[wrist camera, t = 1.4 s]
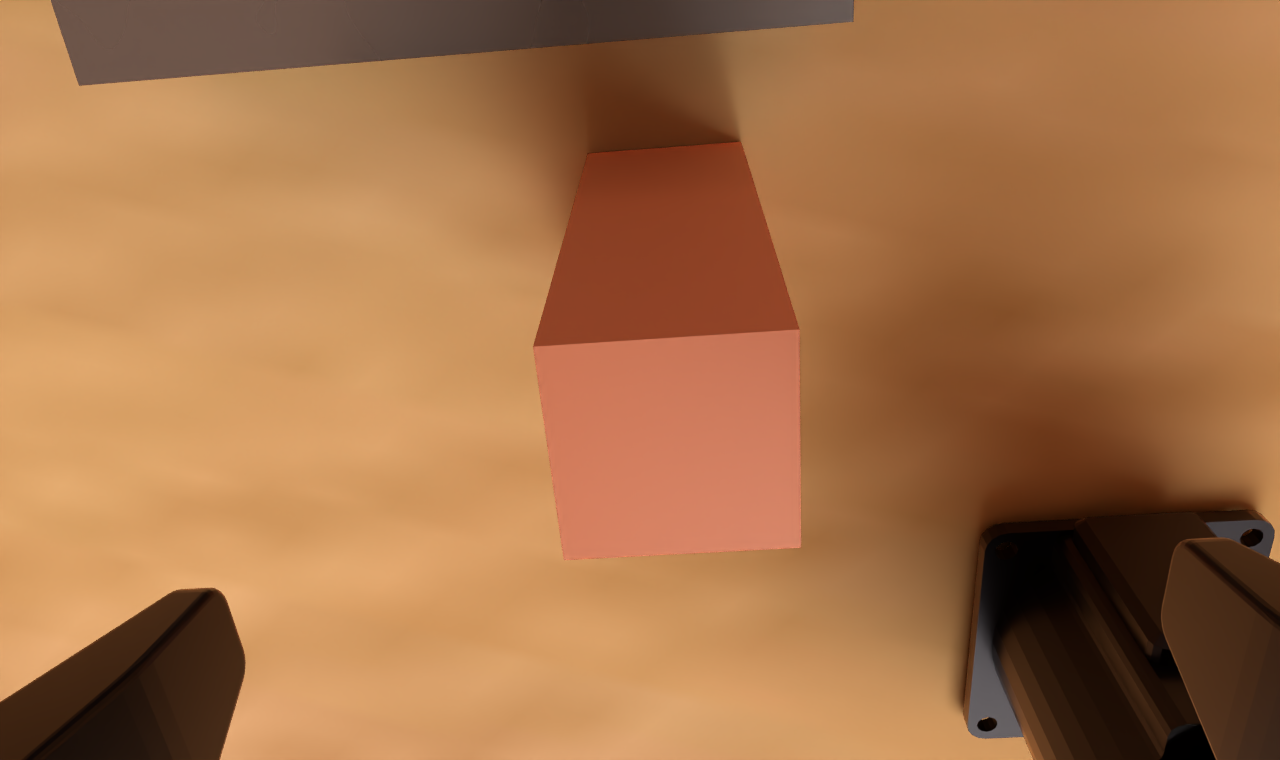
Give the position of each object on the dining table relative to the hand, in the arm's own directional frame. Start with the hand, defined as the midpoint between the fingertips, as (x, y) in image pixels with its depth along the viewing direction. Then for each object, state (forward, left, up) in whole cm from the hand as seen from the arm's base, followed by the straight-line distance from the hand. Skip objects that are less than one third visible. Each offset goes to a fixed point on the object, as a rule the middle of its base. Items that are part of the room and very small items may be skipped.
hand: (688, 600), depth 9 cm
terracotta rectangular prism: (0, 0, -12) cm, 12 cm away
